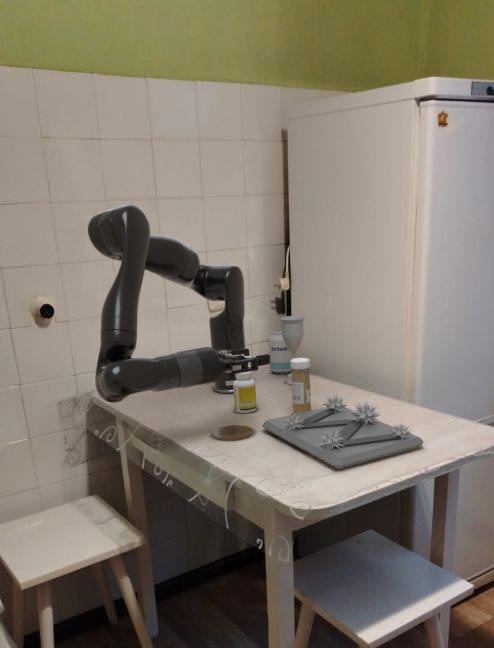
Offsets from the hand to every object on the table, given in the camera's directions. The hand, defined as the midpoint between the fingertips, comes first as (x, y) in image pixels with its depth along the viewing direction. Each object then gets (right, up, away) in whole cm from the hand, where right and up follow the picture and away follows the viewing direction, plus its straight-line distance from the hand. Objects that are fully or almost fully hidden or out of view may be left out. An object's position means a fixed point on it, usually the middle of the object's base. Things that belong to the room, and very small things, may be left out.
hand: (258, 355), depth 141 cm
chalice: (+10, -2, +41) cm, 42 cm away
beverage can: (+6, +2, +53) cm, 53 cm away
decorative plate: (+17, -19, -6) cm, 26 cm away
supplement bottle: (-3, -11, +17) cm, 21 cm away
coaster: (-6, -17, +1) cm, 18 cm away
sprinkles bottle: (+10, -13, +11) cm, 20 cm away
